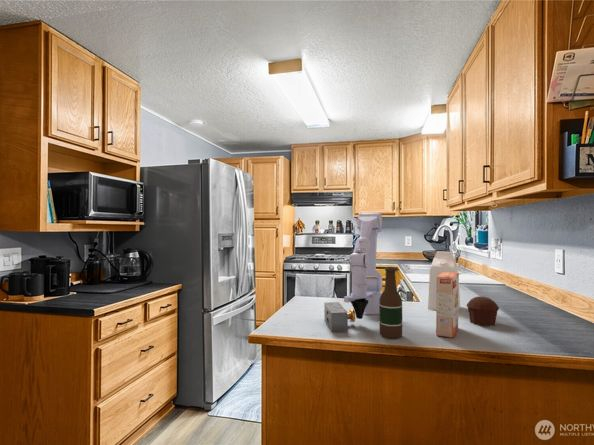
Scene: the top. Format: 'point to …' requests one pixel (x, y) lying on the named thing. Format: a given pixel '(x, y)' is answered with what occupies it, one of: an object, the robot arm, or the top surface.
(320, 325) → the top surface
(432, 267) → the milk
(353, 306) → the robot arm
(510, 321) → the top surface
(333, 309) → the block
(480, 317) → the muffin
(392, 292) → the beer bottle
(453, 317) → the cracker box
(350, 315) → the pin
